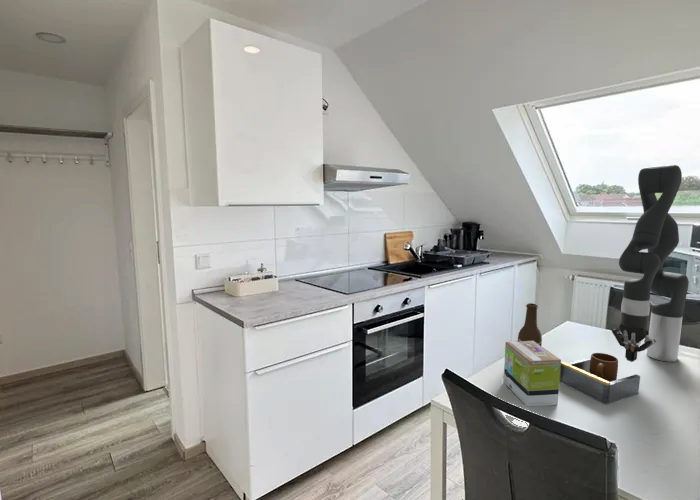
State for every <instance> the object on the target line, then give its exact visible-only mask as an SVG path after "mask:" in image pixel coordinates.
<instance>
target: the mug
mask: <svg viewBox="0 0 700 500" xmlns="http://www.w3.org/2000/svg"><path fill="white" fill-rule="evenodd" d="M590 357H591V359H590V369H589V373H590V374H592V375H595V376H597V377H599V378H602V379H604V380H606V381H609V382H612V381H615V380H618V373H619V372H618V368H619V359H618V358H617V357H615V356H614V355H611V354H608V353H605V352H604V353H603V352H593V353H591V355H590Z"/></svg>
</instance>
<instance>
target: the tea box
mask: <svg viewBox="0 0 700 500" xmlns="http://www.w3.org/2000/svg"><path fill="white" fill-rule="evenodd" d="M561 362H562V360H561V359H560V358H559V357H558V356H556V355H554V354H553V353H552V352H551V351H549V350H547V349H546V348H545V347H543V346H542V345H541V346H540V345H539V344H537V343H536V342H534V341H518V340H517V341H505V348H504V369H503V383H504V384H505V385H506V387H508V388H509V389H510V390H511V392H513V393H514V394H515V395H516V397H518V398H519V400H520V401H521V402H522V403H523V404H524V406H526V407H547V406H549V407H550V406H558V403H559V392H560V391H559V390H560V382H559V381H560V369H561Z"/></svg>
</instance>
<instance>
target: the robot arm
mask: <svg viewBox="0 0 700 500" xmlns="http://www.w3.org/2000/svg"><path fill="white" fill-rule="evenodd" d="M681 169H682V168H681V167H680V165H678V164H666V165H654V166H646V167H642V168H640V170H639V172H638V177H637V178H638V179H637V182H638V190H639V193H640V194H639V195H640V200H641V205H642V208H643V209H642V210H643V214H641V216H640V217H639V218H638V220H637V221H636V223H635V226H634V230H633V234H632V238H631V240H630V241H629V243H628V245H627V246H626V247H625V249H624V250H623V252H622V254H620V257H619V259H618V265H619V267H620V269H621V270H622V271H623V272H624V273H625V272H626V273H633V274H641V275H643V277H642V278H637V279H636V278H633V279H632V278H631V279H627V280H625V281H624V284H623V293H622V301H621V305H620V320H619V322H620V324H619V326H618V327H617V328H613V329H611V333H612V334H613V336H614V338H615V339H616V341H617V343H618V345H619V346H620V347H623V348H624V349H625V355H624V356H625V359H626V361H628V362H630V363H632V362H635V361H637V360H638V353H641V352H643V351H645V350H646V356H648V357H649V358H652V359H655V360H658V361H662V362H668V363H674V362H677V361H678V357H679V349H680V342H681V341H680V340H681V332H682V324H683V317H684V310H685V307H686V299H687V296H688V292H689V277H688V276H687V275H685V274H684V273H677V272H671V271H664V263H665V261H666V260H667V258H668V257H669V256H670V255H671V254H672V253H673V251H675V249H676V248H677V247H678V244H679V243H680V236H679V235H680V234H679V225H678V223H677V221H676V220H675V218H673V217H672V215H670V214H669V212H670V209H671V208H672V205H673V203H674V201H675V198H676V196H677V194H678V192H679V189H680V186H681V184H682V179H683V177H682V175H683V174H682V170H681ZM656 194H660V197H659V198H657V196H656ZM643 250H647V252H645V251H643ZM651 293H652V294H653V295H657V296H662V297H666V298H667V297H668V298H670V301H668V302H662V303H654V304H653V305H652V306H651V303H650V302H651V301H650V300H651ZM650 309H651V310H650ZM648 327H649V329H648ZM642 341H643V343H642ZM641 343H642V344H641Z"/></svg>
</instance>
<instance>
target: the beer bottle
mask: <svg viewBox="0 0 700 500" xmlns="http://www.w3.org/2000/svg"><path fill="white" fill-rule="evenodd" d="M525 308H526V312H525V313H526V314H525V317H524V324H523V326H522V328H521V329H519V331H518V335H517V341H534V342H536V343H537V344H539V345H540V346H542V343H543V336H542V333H541V330H540V328H539V327H538V309H539V306H538V304H536V303H527V304H526V305H525Z"/></svg>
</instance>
